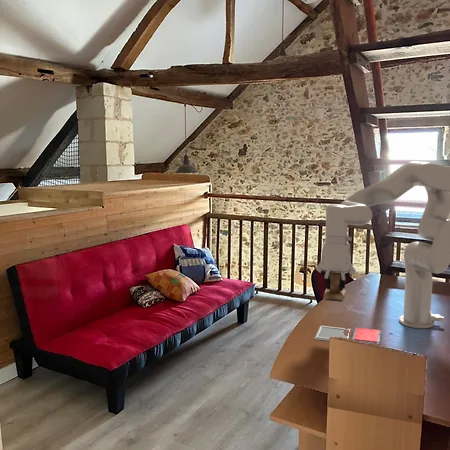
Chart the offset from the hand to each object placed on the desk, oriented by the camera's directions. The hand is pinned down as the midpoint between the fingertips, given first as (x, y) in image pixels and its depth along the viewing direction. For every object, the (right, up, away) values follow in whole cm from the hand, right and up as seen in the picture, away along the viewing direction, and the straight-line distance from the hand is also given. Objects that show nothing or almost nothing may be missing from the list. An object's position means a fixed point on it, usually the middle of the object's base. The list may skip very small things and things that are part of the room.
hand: (335, 288), depth 165 cm
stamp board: (0, -17, +3) cm, 17 cm away
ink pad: (+11, -18, -1) cm, 21 cm away
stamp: (0, -4, +1) cm, 4 cm away
